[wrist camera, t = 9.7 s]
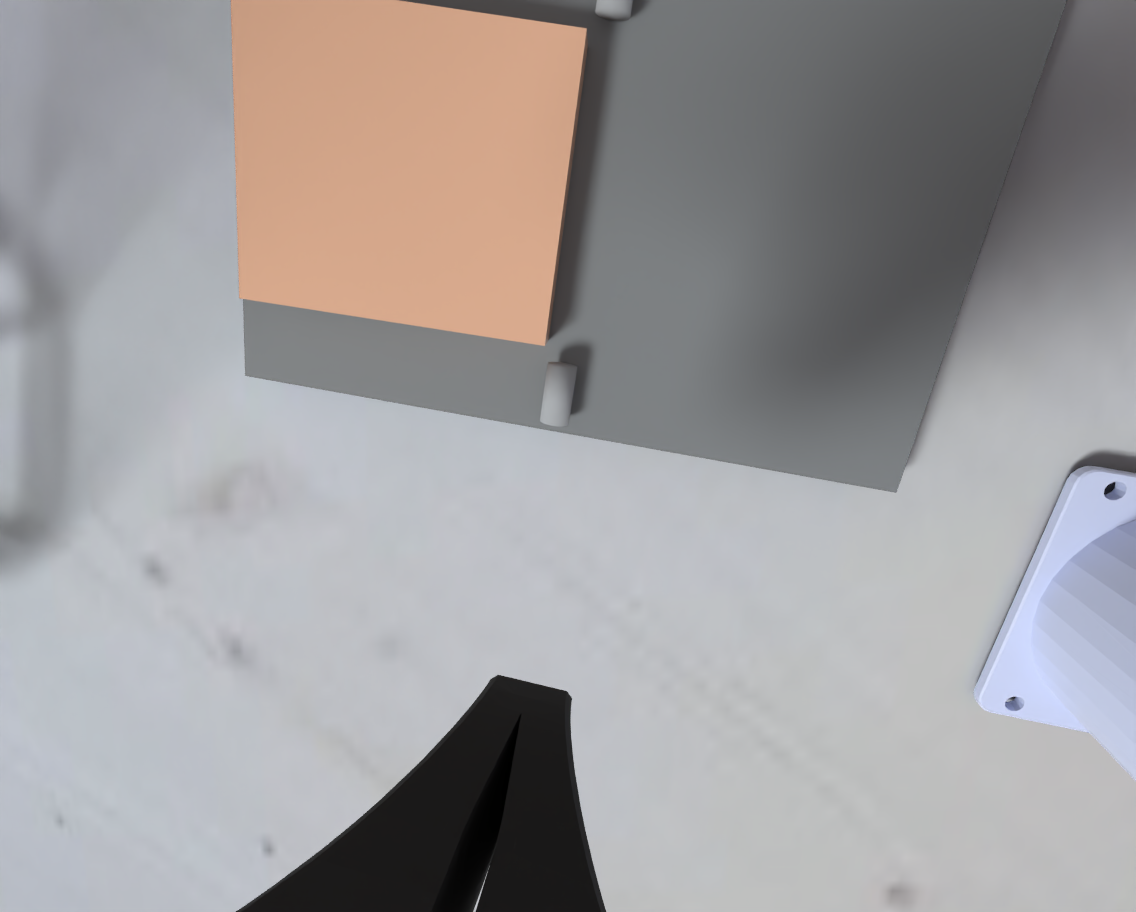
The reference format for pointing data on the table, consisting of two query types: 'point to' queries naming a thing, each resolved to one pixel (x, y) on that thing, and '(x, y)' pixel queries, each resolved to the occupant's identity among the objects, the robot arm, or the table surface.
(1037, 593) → the robot arm
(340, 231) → the tile
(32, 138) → the table surface
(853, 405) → the mat
